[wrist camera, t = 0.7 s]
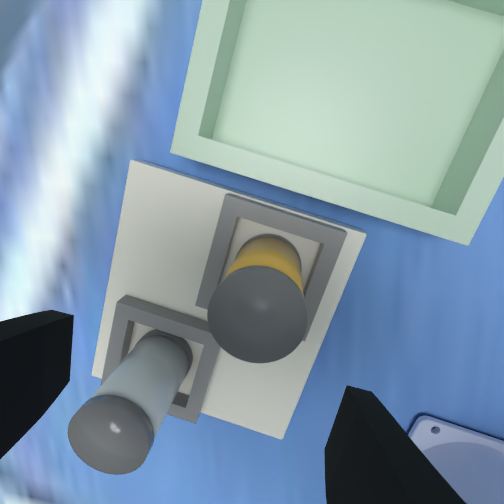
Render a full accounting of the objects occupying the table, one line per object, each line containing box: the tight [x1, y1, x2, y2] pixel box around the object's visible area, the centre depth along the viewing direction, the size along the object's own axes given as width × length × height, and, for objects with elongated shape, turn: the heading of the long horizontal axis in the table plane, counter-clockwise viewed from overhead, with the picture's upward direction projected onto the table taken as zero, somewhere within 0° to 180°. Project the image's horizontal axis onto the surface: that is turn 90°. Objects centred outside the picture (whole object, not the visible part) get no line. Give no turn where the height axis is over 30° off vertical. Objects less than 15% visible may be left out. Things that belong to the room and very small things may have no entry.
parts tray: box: [170, 0, 504, 246], centre depth 13 cm, size 13×10×3 cm
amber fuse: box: [207, 233, 307, 363], centre depth 13 cm, size 3×3×6 cm
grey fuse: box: [68, 329, 193, 475], centre depth 15 cm, size 3×3×6 cm
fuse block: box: [92, 160, 367, 440], centre depth 17 cm, size 12×13×2 cm
